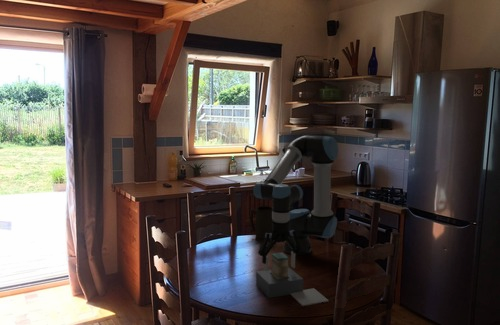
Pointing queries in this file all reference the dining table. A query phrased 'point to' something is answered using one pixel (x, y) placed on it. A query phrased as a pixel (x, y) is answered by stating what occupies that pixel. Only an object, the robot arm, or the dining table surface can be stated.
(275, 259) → the teal and tan block
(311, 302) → the coaster
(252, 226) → the beer stein
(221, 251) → the dining table surface
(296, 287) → the block
